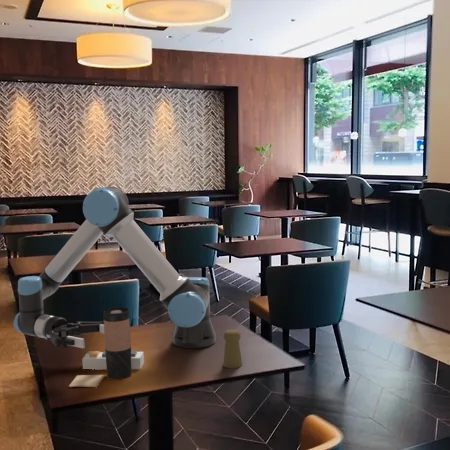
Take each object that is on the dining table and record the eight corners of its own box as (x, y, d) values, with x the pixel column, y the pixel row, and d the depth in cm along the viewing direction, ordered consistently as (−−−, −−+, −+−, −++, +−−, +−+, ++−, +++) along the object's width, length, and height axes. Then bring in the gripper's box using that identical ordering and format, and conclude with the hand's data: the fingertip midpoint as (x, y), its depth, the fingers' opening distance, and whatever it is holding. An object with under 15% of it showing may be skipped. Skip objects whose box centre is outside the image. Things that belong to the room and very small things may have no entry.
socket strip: (143, 362, 181) (143, 348, 181) (140, 369, 176) (140, 355, 175) (88, 362, 182) (87, 349, 182) (82, 369, 176) (82, 356, 176)
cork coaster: (103, 376, 170) (103, 374, 170) (96, 387, 162) (96, 385, 162) (77, 377, 170) (77, 375, 170) (69, 387, 162) (69, 385, 162)
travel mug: (133, 377, 168) (130, 312, 166) (107, 381, 166) (104, 314, 164) (130, 369, 176) (127, 305, 174) (105, 372, 174) (102, 308, 171)
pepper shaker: (228, 369, 173) (227, 334, 172) (219, 363, 179) (218, 329, 178) (245, 365, 176) (245, 331, 175) (236, 360, 182) (235, 326, 180)
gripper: (81, 329, 195) (128, 337, 184) (21, 350, 174) (69, 362, 163) (80, 307, 194) (127, 315, 183) (19, 326, 173) (68, 336, 162)
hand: (100, 337), depth 173 cm, fingers open, 13 cm apart
